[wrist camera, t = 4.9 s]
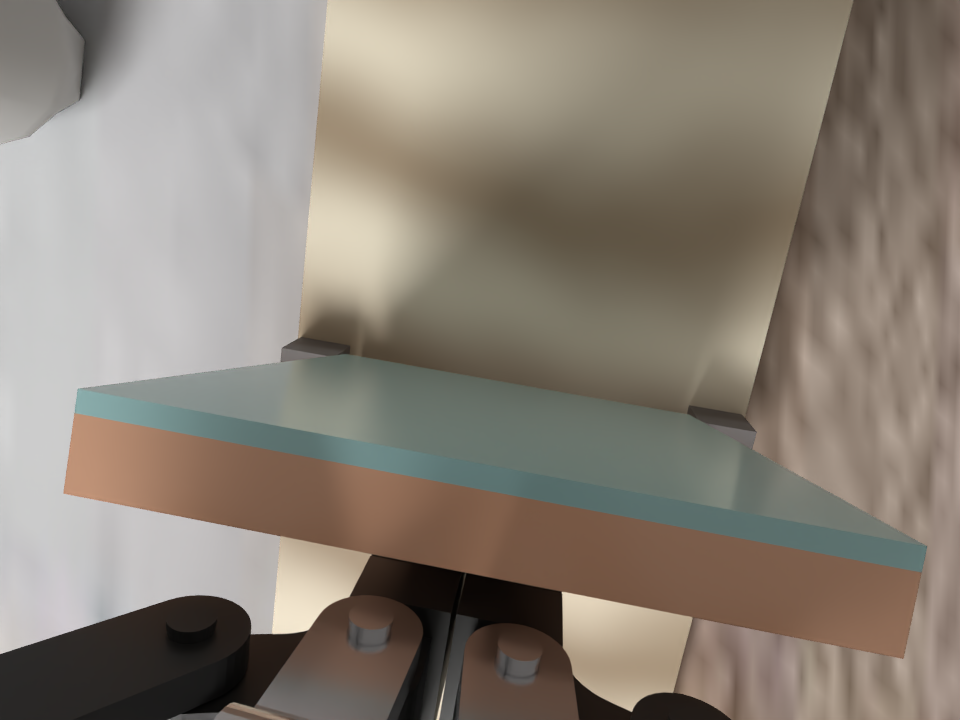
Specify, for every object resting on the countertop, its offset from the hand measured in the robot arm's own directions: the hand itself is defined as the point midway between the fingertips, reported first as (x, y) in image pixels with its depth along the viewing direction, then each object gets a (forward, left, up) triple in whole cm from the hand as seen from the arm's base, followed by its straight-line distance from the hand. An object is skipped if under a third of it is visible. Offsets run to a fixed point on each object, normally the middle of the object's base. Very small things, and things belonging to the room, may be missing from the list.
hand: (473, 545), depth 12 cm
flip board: (0, 0, -11) cm, 11 cm away
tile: (0, 0, -3) cm, 3 cm away
